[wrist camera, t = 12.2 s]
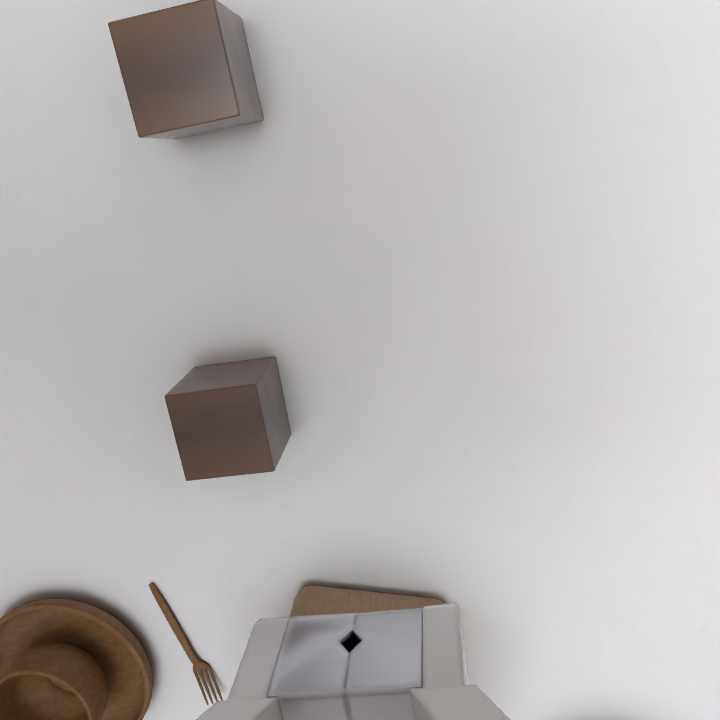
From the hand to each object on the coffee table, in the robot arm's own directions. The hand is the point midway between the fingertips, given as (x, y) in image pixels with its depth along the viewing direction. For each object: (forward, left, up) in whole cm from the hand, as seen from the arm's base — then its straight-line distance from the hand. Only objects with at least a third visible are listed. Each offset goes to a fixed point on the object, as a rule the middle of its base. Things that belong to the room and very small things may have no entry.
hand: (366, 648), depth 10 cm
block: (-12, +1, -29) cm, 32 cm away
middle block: (-1, +15, -29) cm, 33 cm away
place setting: (-36, -9, -29) cm, 47 cm away
